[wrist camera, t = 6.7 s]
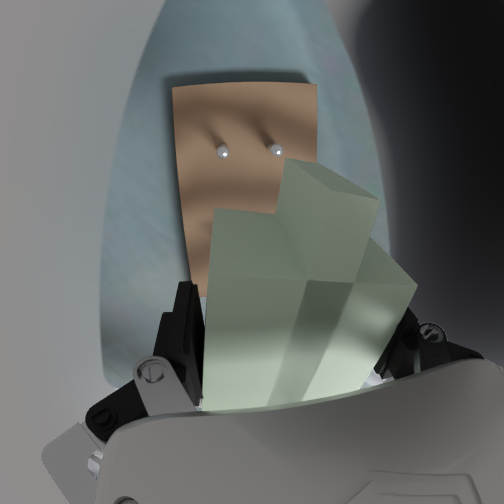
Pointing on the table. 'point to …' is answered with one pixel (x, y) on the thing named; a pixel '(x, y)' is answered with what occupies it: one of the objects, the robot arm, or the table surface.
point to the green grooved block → (298, 295)
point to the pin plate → (236, 152)
